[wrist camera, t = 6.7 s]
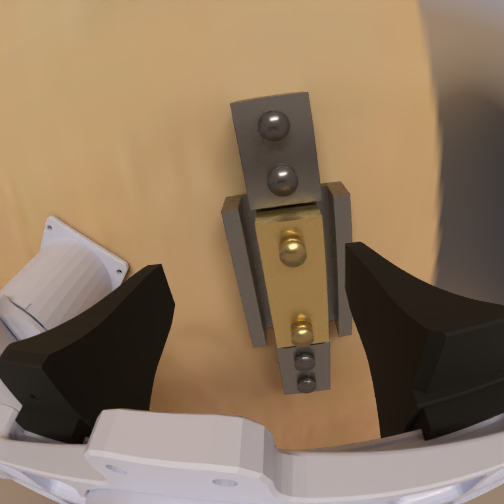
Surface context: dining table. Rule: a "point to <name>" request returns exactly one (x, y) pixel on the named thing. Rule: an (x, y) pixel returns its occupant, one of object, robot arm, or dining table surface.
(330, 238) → the chain
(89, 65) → the dining table surface
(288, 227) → the brass link
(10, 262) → the dining table surface
